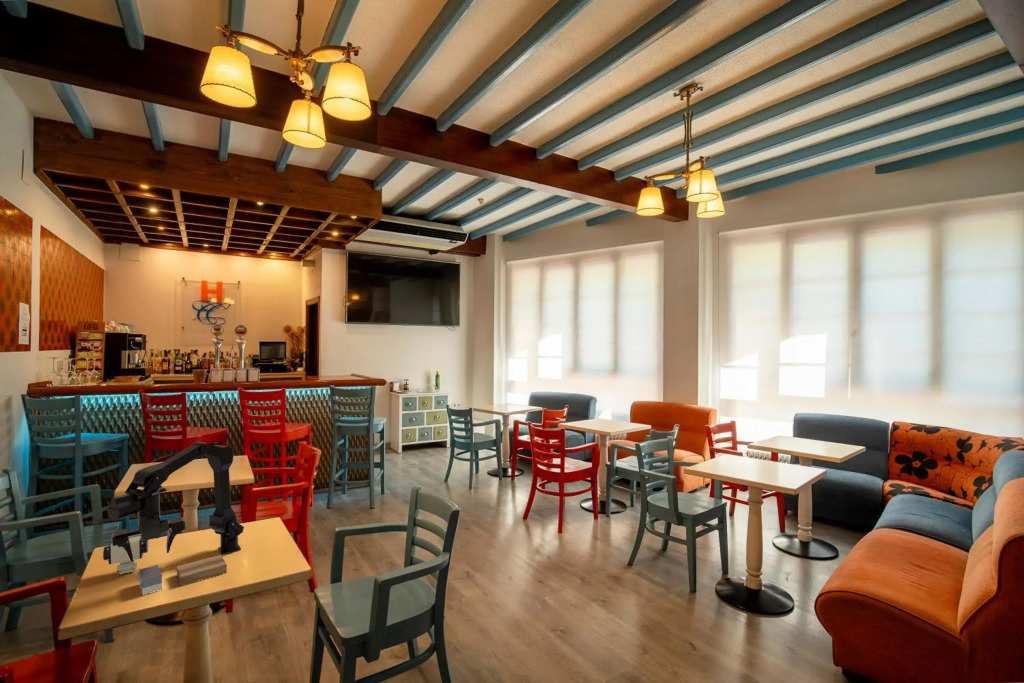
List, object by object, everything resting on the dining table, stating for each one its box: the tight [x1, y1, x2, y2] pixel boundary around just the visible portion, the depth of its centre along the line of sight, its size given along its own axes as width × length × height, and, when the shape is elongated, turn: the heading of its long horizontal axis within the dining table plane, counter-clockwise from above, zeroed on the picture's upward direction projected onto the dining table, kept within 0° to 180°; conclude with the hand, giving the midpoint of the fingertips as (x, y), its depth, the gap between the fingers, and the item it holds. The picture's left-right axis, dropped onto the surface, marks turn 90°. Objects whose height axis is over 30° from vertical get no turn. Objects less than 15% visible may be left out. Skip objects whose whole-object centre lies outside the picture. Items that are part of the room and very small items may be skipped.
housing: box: [138, 564, 163, 595], centre depth 160 cm, size 9×5×5 cm, turn 42°
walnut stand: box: [176, 554, 228, 586], centre depth 168 cm, size 9×13×3 cm
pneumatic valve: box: [102, 536, 150, 575], centre depth 169 cm, size 6×12×12 cm, turn 120°
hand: (150, 557), depth 160 cm, fingers open, 9 cm apart
